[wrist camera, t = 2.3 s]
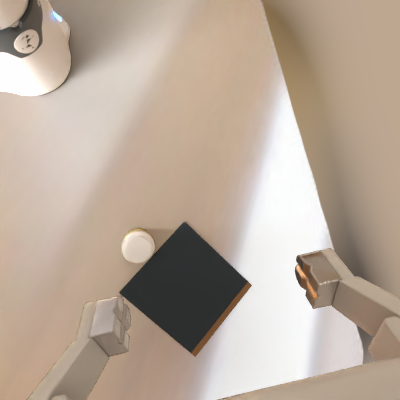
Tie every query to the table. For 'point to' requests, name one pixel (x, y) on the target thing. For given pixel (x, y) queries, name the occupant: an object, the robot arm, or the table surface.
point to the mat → (186, 289)
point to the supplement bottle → (137, 246)
